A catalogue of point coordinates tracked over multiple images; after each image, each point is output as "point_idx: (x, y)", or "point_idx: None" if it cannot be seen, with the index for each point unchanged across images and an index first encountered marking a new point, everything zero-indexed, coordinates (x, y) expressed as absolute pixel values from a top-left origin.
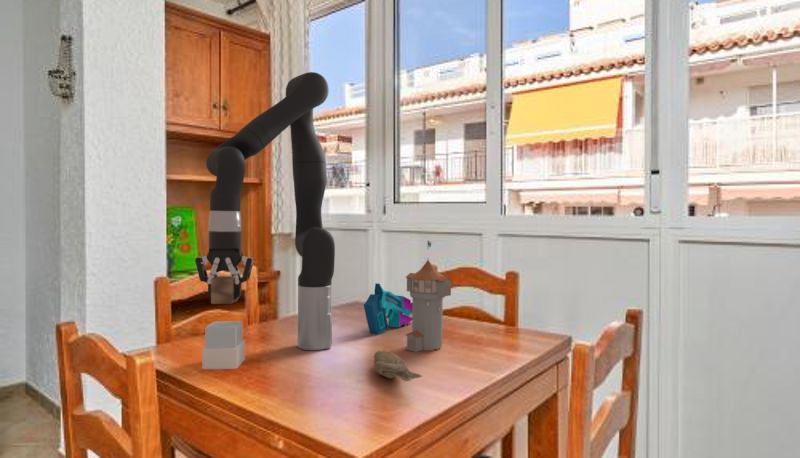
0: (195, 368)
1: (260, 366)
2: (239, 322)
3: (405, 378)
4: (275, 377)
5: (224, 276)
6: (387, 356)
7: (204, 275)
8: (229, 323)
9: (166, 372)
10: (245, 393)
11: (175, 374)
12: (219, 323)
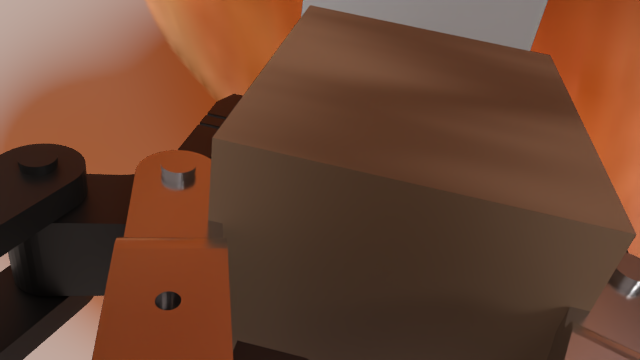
0: (290, 27)
1: (605, 66)
2: (532, 8)
3: None
4: (636, 230)
5: (352, 204)
6: None
7: (48, 316)
8: (448, 33)
9: (182, 58)
10: None
11: (228, 94)
12: (369, 16)
